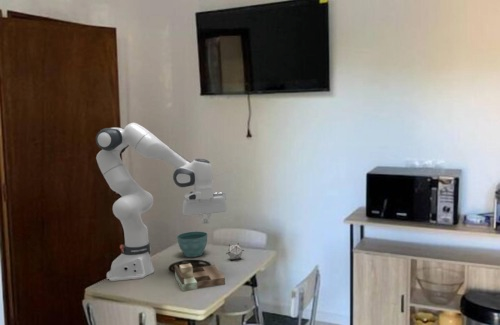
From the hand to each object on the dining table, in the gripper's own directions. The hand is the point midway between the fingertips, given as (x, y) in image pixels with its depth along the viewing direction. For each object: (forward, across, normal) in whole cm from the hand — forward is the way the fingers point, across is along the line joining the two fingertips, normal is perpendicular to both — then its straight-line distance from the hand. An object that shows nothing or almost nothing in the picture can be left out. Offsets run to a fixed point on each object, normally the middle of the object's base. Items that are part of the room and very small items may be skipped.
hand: (205, 223), depth 234 cm
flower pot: (+25, +1, -33) cm, 41 cm away
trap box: (+24, +5, +8) cm, 26 cm away
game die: (+25, -18, -15) cm, 34 cm away
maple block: (+21, +11, +8) cm, 26 cm away
